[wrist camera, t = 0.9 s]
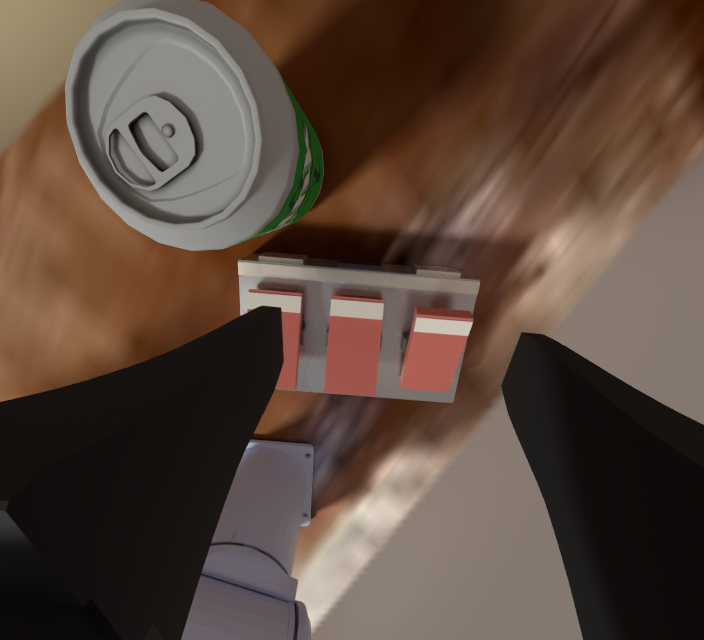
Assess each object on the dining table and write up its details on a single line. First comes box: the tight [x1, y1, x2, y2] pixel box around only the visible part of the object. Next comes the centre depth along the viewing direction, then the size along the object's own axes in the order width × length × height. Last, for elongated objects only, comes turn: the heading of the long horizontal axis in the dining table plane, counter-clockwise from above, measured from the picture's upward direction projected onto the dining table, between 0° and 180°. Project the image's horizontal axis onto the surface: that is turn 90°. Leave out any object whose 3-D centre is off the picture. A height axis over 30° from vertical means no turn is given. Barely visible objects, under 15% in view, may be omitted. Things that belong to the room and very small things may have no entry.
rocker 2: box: [324, 296, 384, 396], centre depth 20 cm, size 6×3×1 cm, turn 176°
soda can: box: [65, 0, 324, 251], centre depth 15 cm, size 8×8×12 cm
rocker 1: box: [247, 289, 304, 390], centre depth 20 cm, size 6×3×1 cm, turn 176°
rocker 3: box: [400, 307, 474, 392], centre depth 20 cm, size 6×3×1 cm, turn 175°
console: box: [238, 252, 480, 403], centre depth 23 cm, size 9×15×4 cm, turn 86°
